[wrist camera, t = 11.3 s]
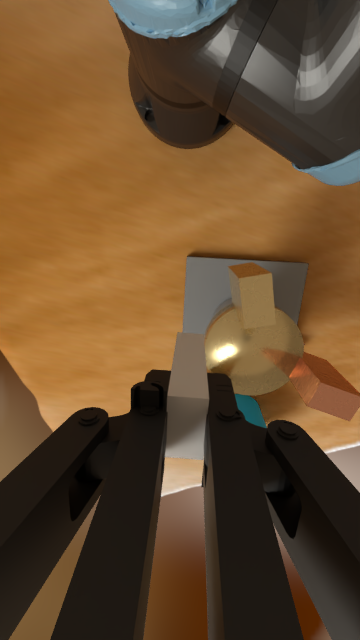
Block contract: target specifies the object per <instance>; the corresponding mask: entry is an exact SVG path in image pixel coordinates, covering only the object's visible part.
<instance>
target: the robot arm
mask: <svg viewBox="0 0 360 640" xmlns="http://www.w3.org/2000/svg"><path fill="white" fill-rule="evenodd" d="M108 1H109V3H110V5H111V6H112V7H113V9H114V12H115V14H116V17H117V19H118V22H119V24H120V27H121V30H122V32H123V35H124V37H125V40H126V43H127V45H128V48H129V50H130V57H129V66H128V76H129V86H130V91H131V95H132V99H133V102H134V105H135V107H136V109H137V111H138V113H139V115H140V117H141V119H142V121H143V123H144V124H145V125H146V127H147V128H148V129H149V130H150V132H151V133H152V134H153V135H155V136H156V137H157V138H158V139H160V140H161V141H163V142H164V143H166V144H168V145H171V146H174V147H177V148H183V149H193V148H199V147H203V146H206V145H208V144H211V143H212V142H214V141H216V140H217V139H219V138H220V137H222V136H223V135H224V134H225V133H226V132H227V131H228V130H229V129H230V128H231V126H232V125H233V124H234V123H235V124H236V125H238V126H239V127H241V128H242V129H243V130H245V131H246V132H248V133H249V134H251V135H252V136H254V137H255V138H257V139H258V140H260V141H261V142H263V143H264V144H265V145H267V146H268V147H270V148H271V149H273V150H274V151H276V152H277V153H279V154H280V155H282V156H283V157H285V158H286V159H287V160H289V161H290V162H292V166H293V167H294V168H295V169H297V170H298V171H302V172H304V173H308V174H310V175H311V176H313V177H315V178H316V179H318V180H320V181H321V182H323V183H325V184H328V185H335V186H345V185H349V184H353V183H356V182H359V181H360V0H108ZM165 457H172V458H184V459H197V460H203V458H204V466H203V476H202V487H204V517H205V547H206V578H207V610H208V639H209V640H304V639H303V635H302V631H301V627H300V624H299V620H298V616H297V612H296V608H295V605H294V601H293V597H292V594H291V590H290V586H289V582H288V578H287V574H286V571H285V567H284V564H283V559H282V556H281V552H280V548H279V545H278V540H277V537H276V533H275V529H274V526H275V528H276V530H277V532H278V534H279V536H280V538H281V540H282V542H283V544H284V546H285V548H286V549H287V552H288V554H289V555H290V558H291V559H292V562H293V563H294V566H295V567H296V569H297V571H298V573H299V575H300V577H301V579H302V581H303V583H304V585H305V587H306V589H307V591H308V593H309V595H310V597H311V599H312V601H313V603H314V605H315V607H316V609H317V611H318V613H319V615H320V617H321V619H322V621H323V623H324V625H325V627H326V629H327V631H328V633H329V635H330V637H331V639H332V640H360V493H359V492H358V490H357V489H356V488H355V487H354V486H353V485H352V483H351V482H350V481H349V480H348V479H347V478H346V477H345V476H344V474H343V473H342V472H341V471H340V470H339V469H338V468H337V467H336V465H335V464H334V463H333V462H332V461H331V460H330V459H329V458H328V456H327V455H326V454H325V453H324V452H323V451H322V450H321V448H320V447H319V446H318V445H317V444H316V443H315V442H314V441H313V439H312V438H311V437H310V436H309V435H308V434H307V433H306V432H305V430H303V429H302V428H301V427H300V426H298V425H296V424H294V423H292V422H289V421H285V420H275V421H272V422H270V423H269V424H268V427H267V428H264V427H261V426H257V425H254V424H252V423H250V422H248V421H246V419H245V416H244V414H243V413H242V412H241V411H240V410H239V409H238V406H237V402H236V398H235V394H234V390H233V386H232V381H231V379H230V378H229V377H228V376H227V375H226V374H222V373H207V368H206V357H205V345H204V334H194V333H179V332H178V333H177V339H176V345H175V352H174V358H173V364H172V370H171V371H167V370H151V371H150V372H149V373H148V374H146V377H145V380H144V381H143V382H139V383H137V384H135V385H134V386H133V387H132V388H131V410H130V412H129V413H127V414H124V415H120V416H115V417H108V413H107V412H106V411H105V410H103V409H101V408H96V407H90V408H84V409H81V410H79V411H77V412H75V413H74V414H73V415H71V416H70V417H69V418H68V419H67V420H66V421H65V422H64V423H63V424H62V425H61V426H60V427H59V428H58V429H56V430H55V431H54V432H53V433H52V434H51V435H50V436H49V437H48V438H47V439H46V440H45V441H44V442H43V443H41V444H40V445H39V446H38V447H37V448H36V449H35V450H34V451H33V452H32V453H31V454H30V455H29V456H28V457H26V458H25V459H24V460H23V461H22V462H21V463H20V464H19V465H18V466H17V467H16V468H15V469H14V470H12V471H11V472H10V473H9V474H8V475H7V476H6V477H5V478H4V479H3V480H2V481H1V482H0V640H8V639H9V638H10V636H11V635H12V633H13V632H14V630H15V629H16V627H17V625H18V624H19V622H20V621H21V619H22V617H23V616H24V614H25V613H26V611H27V610H28V608H29V607H30V605H31V603H32V602H33V600H34V598H35V597H36V595H37V594H38V592H39V591H40V589H41V588H42V586H43V584H44V583H45V581H46V580H47V578H48V577H49V575H50V573H51V572H52V570H53V568H54V567H55V566H56V564H57V562H58V561H59V559H60V558H61V556H62V554H63V553H64V551H65V550H66V548H67V547H68V545H69V544H70V542H71V540H72V539H73V537H74V536H75V534H76V532H77V531H78V529H79V528H80V526H81V525H82V523H83V522H84V520H85V518H86V517H87V515H88V514H89V512H90V511H91V509H92V507H93V506H94V504H95V503H96V501H97V500H98V498H99V496H100V495H101V496H100V499H99V502H98V504H97V507H96V510H95V513H94V516H93V519H92V522H91V524H90V527H89V530H88V533H87V536H86V539H85V542H84V545H83V547H82V550H81V553H80V556H79V559H78V562H77V565H76V568H75V570H74V573H73V576H72V579H71V582H70V585H69V588H68V590H67V593H66V596H65V599H64V602H63V605H62V608H61V611H60V613H59V616H58V619H57V622H56V625H55V628H54V631H53V634H52V636H51V640H143V636H144V628H145V620H146V612H147V603H148V595H149V587H150V579H151V571H152V563H153V555H154V546H155V538H156V530H157V522H158V514H159V506H160V498H161V490H162V482H163V473H164V460H165ZM273 524H274V525H273Z"/></svg>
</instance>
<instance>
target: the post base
mask: <svg viewBox="0 0 360 640" xmlns="http://www.w3.org/2000/svg"><path fill="white" fill-rule="evenodd" d="M250 262H253V263H255V264H257V265H259V266H260V267H262V268H264V269H266V270H267V271H269V272H271V273H272V282H273V294H274V305H276V306H277V307H279V308H280V309H281V310H282V311H284V312H285V313H286V314H287V315H288V316H289V317H290V318H291V319H292V320H293V321H294V322H295V323H296V325H297V323H298V318H299V312H300V307H301V302H302V297H303V291H304V286H305V281H306V275H307V270H308V265H309V264H308V263H299V262H282V261H264V260H246V259H229V258H211V257H194V256H187V265H186V282H185V300H184V317H183V333H194V334H204V335H205V331H206V328H207V326H208V324H209V322H210V321H211V320H212V318H213V317H214V316H215V315H216V314H217V313H218V312H219V311H220V310H221V309H223V308H224V307H226V306H227V305H229V304H231V303H232V296H231V288H230V280H229V272H228V266H232V265H238V264H244V263H250ZM303 344H304V343H303ZM304 345H305V344H304Z"/></svg>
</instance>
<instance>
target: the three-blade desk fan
mask: <svg viewBox="0 0 360 640" xmlns="http://www.w3.org/2000/svg"><path fill="white" fill-rule="evenodd" d="M228 272H229V280H230V288H231V296H232V303H231V304H229V305H227V306H226V307H224V308H223V309H221V310H220V311H219V312H218V313H217V314H216V315H215V316H214V317H213V318H212V320H211V321H210V322H209V324H208V326H207V328H206V331H205V335H204V345H205V357H206V368H207V373H222V374H226V375H227V376H228V377H229V378H230V379H231V381H232V386H233V390H234V393H237V394H241V395H251V396H252V395H261V394H266V393H269V392H272V391H274V390H276V389H278V388H280V387H282V386H283V385H284V384H286V383H287V382H288V381H289V380H291V382H292V383H293V385H294V387H295V388H296V390H297V391H298V393H299V394H300V396H301V398H302V399H303V401H304V402H305V404H306V405H307V406H308V407H311V408H314V409H317V410H319V411H322V412H325V413H328V414H331V415H334V416H336V417H339V418H342V419H345V420H348V421H350V420H351V419H352V417H353V416H354V414H355V413H356V411H357V410H358V408H359V407H360V393H359V392H358V391H357V390H356V389H355V388H354V387H353V386H352V385H351V384H350V383H349V382H348V381H347V380H346V379H345V378H344V377H343V376H342V375H341V374H340V373H339V372H338V371H337V370H336V369H335V368H334V367H333V366H332V365H331V364H330V363H329V362H328V361H327V360H325V359H322V358H319V357H317V356H314V355H311V354H308V353H306V352H304V344H303V338H302V335H301V332H300V330H299V328H298V326H297V325H296V323H295V322H294V321H293V320H292V319H291V318H290V317H289V316H288V315H287V314H286V313H285V312H284V311H282V310H281V309H280V308H279V307H277V306H276V305H274V294H273V282H272V273H271V272H269V271H267V270H266V269H264V268H262V267H260V266H259V265H257V264H255V263H253V262H250V263H244V264H238V265H232V266H228Z"/></svg>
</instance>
